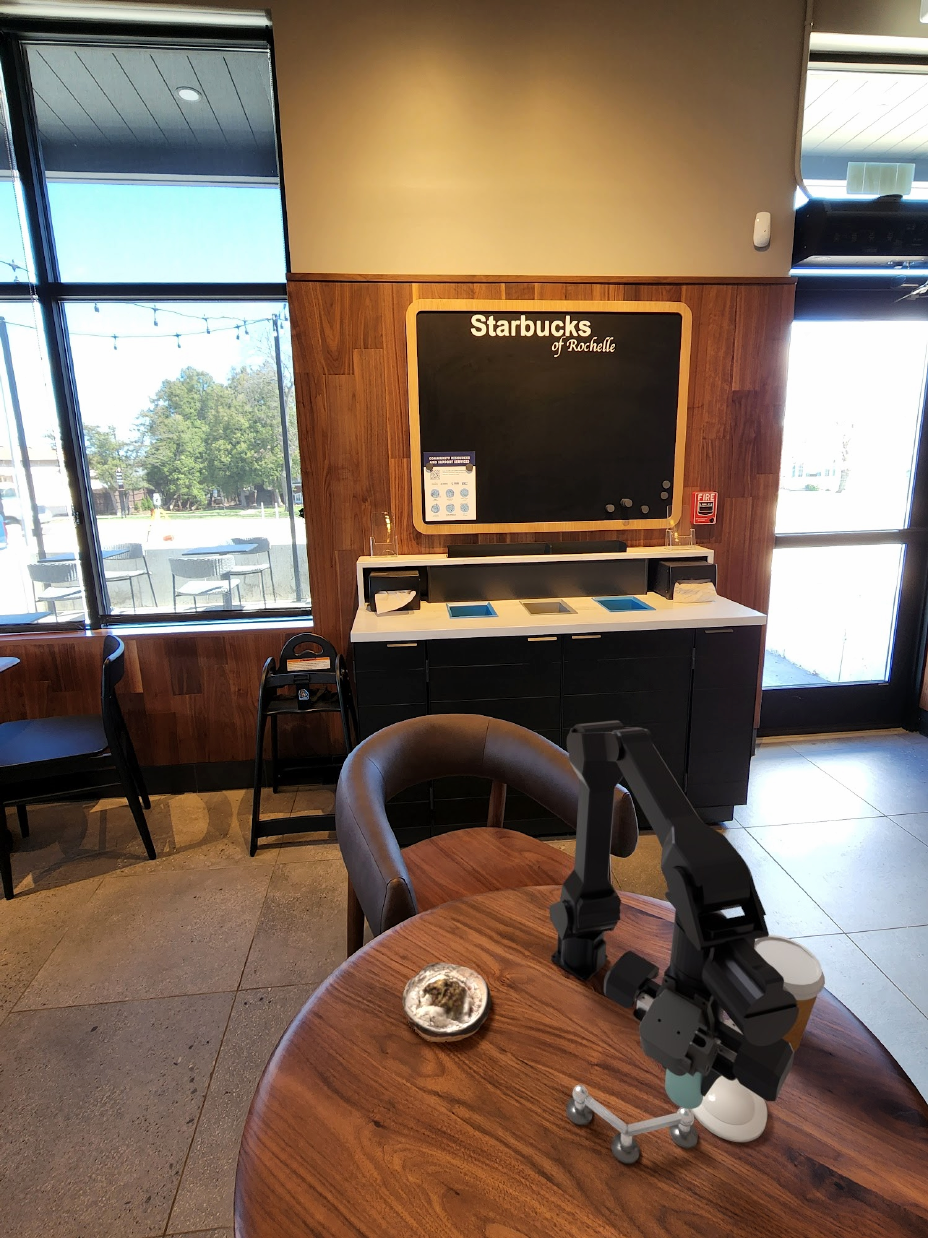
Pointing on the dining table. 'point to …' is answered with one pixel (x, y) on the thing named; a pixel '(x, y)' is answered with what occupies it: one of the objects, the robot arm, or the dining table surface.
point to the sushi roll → (446, 1002)
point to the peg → (684, 1089)
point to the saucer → (732, 1111)
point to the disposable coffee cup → (794, 977)
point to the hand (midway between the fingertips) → (685, 1080)
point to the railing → (631, 1125)
